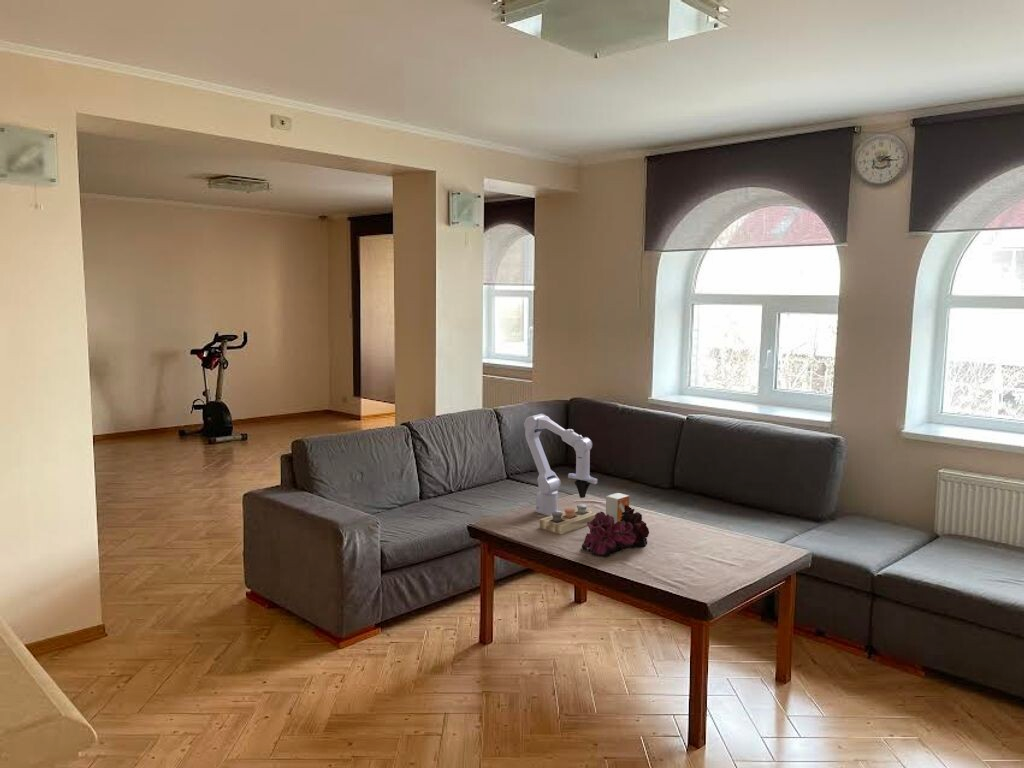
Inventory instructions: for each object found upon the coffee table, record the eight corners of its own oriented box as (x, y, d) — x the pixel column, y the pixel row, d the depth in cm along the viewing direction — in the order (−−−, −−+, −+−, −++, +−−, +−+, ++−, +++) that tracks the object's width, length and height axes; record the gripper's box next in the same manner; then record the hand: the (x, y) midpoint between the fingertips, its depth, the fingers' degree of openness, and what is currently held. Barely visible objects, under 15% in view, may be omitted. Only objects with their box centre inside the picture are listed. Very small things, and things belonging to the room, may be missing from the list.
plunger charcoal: (549, 521, 306) (549, 513, 305) (556, 519, 309) (556, 511, 308) (557, 524, 303) (557, 515, 302) (564, 521, 306) (564, 513, 305)
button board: (539, 527, 308) (539, 519, 307) (577, 515, 324) (577, 507, 324) (561, 534, 299) (561, 526, 299) (598, 521, 316) (598, 513, 315)
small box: (616, 529, 305) (617, 499, 303) (604, 526, 310) (605, 495, 308) (629, 525, 311) (629, 495, 309) (617, 522, 315) (617, 492, 314)
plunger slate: (574, 513, 317) (574, 505, 316) (581, 511, 320) (581, 503, 320) (582, 515, 314) (582, 507, 313) (589, 513, 317) (589, 505, 316)
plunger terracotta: (562, 517, 311) (562, 509, 311) (569, 515, 314) (569, 507, 314) (570, 519, 308) (570, 511, 308) (577, 517, 311) (577, 509, 311)
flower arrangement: (617, 531, 304) (618, 495, 302) (660, 542, 291) (661, 505, 289) (572, 551, 281) (572, 513, 279) (616, 564, 268) (617, 524, 266)
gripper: (602, 467, 313) (601, 498, 314) (575, 461, 323) (575, 492, 325) (591, 470, 308) (591, 502, 310) (565, 464, 318) (564, 495, 320)
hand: (582, 497), depth 317 cm, fingers closed
